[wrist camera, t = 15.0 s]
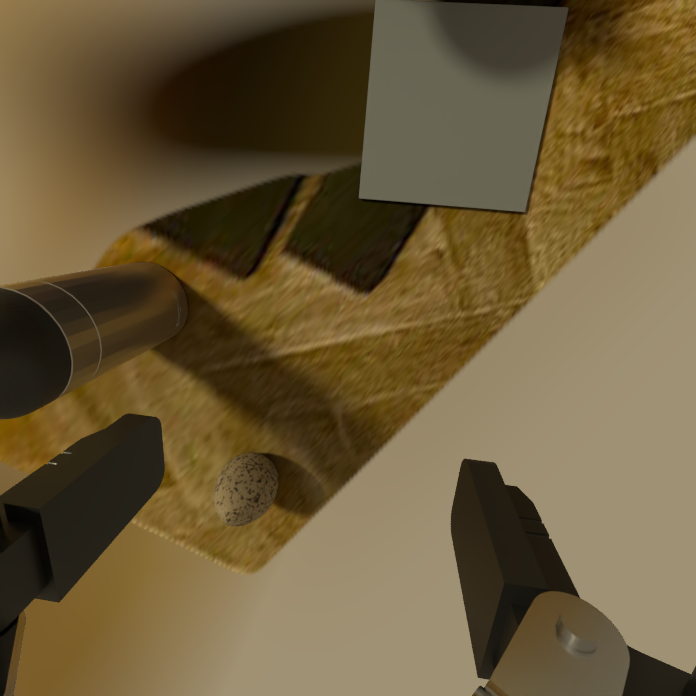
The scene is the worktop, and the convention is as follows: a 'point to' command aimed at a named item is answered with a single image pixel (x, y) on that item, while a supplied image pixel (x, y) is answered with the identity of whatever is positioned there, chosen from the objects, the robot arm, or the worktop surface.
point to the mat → (458, 101)
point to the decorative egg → (245, 489)
